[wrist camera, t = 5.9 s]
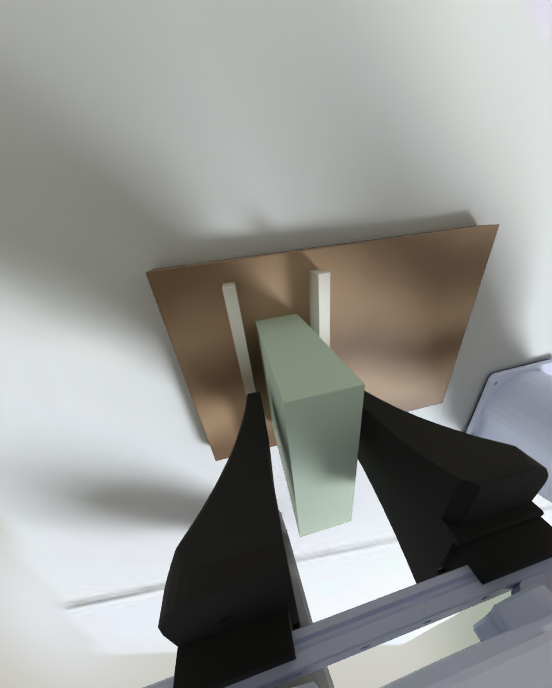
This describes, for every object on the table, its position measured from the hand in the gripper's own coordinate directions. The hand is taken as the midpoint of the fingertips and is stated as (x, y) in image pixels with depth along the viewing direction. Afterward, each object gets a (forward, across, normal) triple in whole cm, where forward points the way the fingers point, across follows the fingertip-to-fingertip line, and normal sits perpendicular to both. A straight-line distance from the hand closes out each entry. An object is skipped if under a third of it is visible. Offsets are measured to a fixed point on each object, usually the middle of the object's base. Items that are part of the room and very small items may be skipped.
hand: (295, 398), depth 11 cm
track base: (+4, -4, 0) cm, 6 cm away
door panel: (+3, 0, 0) cm, 3 cm away
